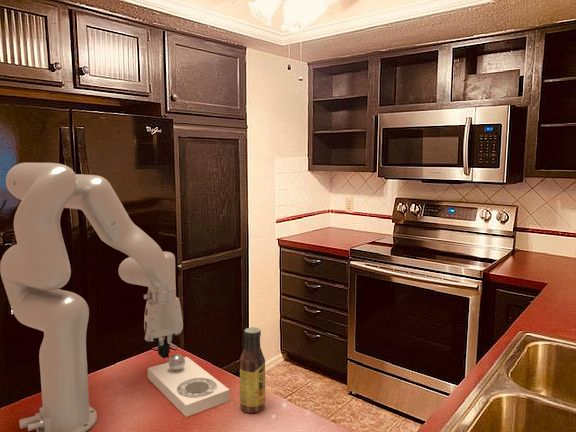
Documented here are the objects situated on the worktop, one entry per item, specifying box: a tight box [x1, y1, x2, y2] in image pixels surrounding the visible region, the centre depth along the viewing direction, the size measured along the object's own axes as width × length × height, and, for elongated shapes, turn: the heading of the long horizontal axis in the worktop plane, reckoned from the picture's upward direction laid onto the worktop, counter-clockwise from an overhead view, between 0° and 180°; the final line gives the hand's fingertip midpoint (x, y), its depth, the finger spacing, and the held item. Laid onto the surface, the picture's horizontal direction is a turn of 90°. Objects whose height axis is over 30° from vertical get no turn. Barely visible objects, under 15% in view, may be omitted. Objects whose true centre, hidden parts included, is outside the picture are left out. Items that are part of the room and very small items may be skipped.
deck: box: [146, 356, 231, 418], centre depth 121 cm, size 12×24×3 cm, turn 38°
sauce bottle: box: [239, 327, 266, 414], centre depth 112 cm, size 6×6×20 cm
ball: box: [167, 353, 185, 371], centre depth 125 cm, size 4×4×4 cm
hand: (164, 356), depth 132 cm, fingers closed
